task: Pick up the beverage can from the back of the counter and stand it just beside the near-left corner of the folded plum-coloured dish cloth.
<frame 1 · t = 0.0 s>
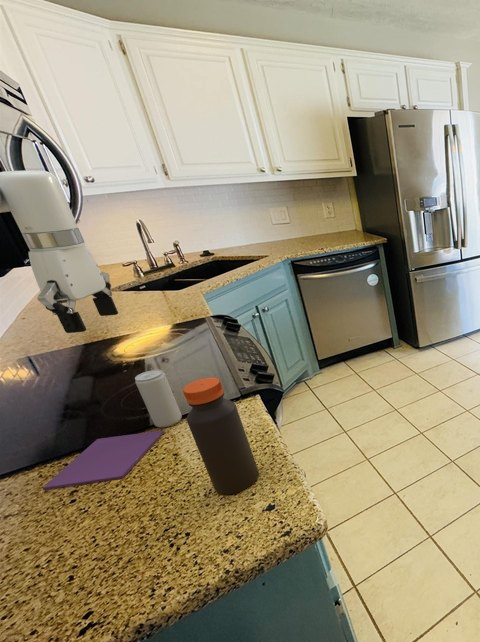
hand: (93, 323, 85), 22 cm above the countertop, tool pointing down, fingers open, 9 cm apart
bottle: (238, 482, 73), on the countertop
beverage can: (169, 423, 90), on the countertop
cloth: (109, 458, 79), on the countertop
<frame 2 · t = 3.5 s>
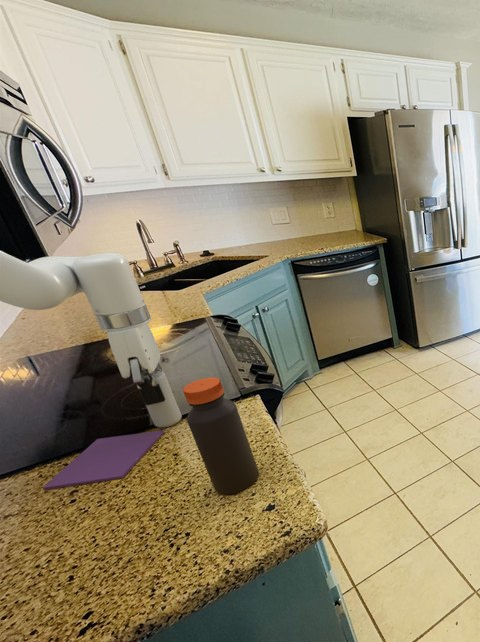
hand: (158, 396, 87), 7 cm above the countertop, tool pointing down, fingers closed on beverage can, 4 cm apart
beverage can: (169, 423, 90), on the countertop, touching gripper
everything else where it was.
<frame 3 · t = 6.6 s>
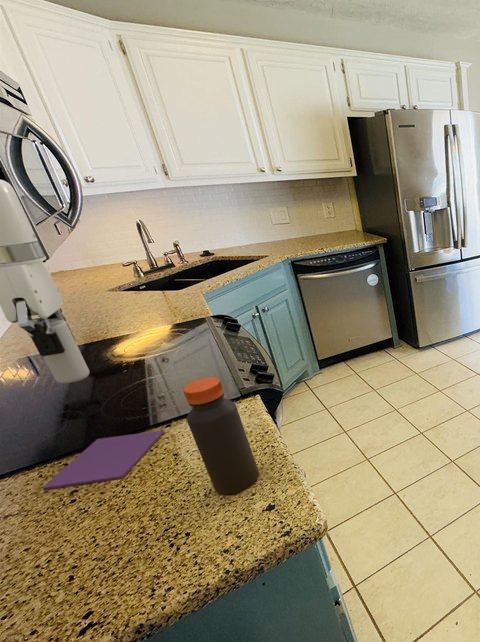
hand: (58, 347, 78), 20 cm above the countertop, tool pointing down, fingers closed on beverage can, 4 cm apart
beverage can: (74, 379, 81), point 13 cm above the countertop, touching gripper
everything else where it was.
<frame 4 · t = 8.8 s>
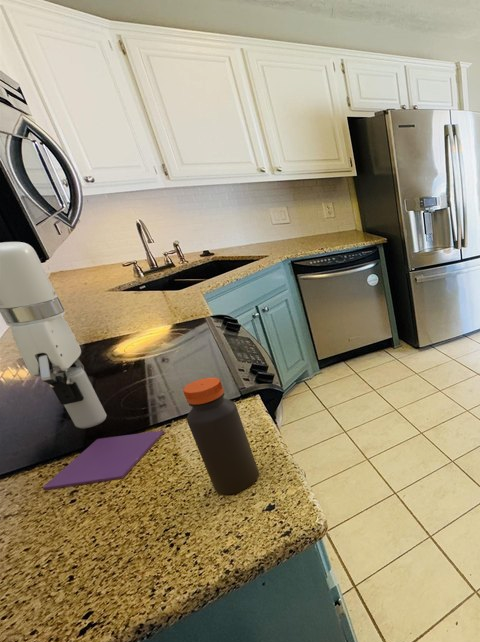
hand: (77, 394, 82), 10 cm above the countertop, tool pointing down, fingers closed on beverage can, 4 cm apart
beverage can: (92, 423, 85), point 3 cm above the countertop, touching gripper
everything else where it was.
when the fingers open (7 cm above the countertop, at t = 10.0 s): beverage can stays where it is, on the countertop.
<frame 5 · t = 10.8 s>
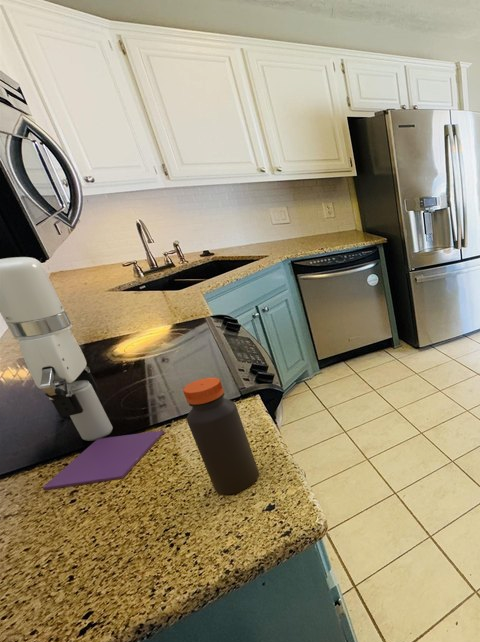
hand: (80, 402, 83), 8 cm above the countertop, tool pointing down, fingers open, 9 cm apart
beverage can: (99, 435, 86), on the countertop
everything else where it was.
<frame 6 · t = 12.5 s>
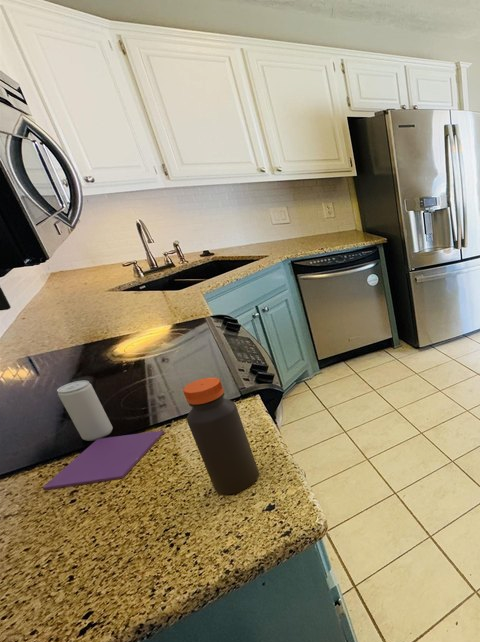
nothing on the countertop moved.
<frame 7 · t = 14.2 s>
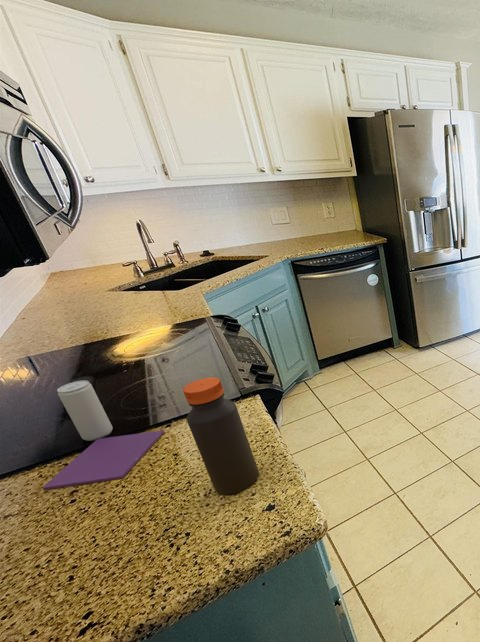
nothing on the countertop moved.
at the end: beverage can 0.1 cm from the target spot, on the countertop; beverage can tilted 0°; beverage can 12.1 cm from the cloth (horizontally) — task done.
